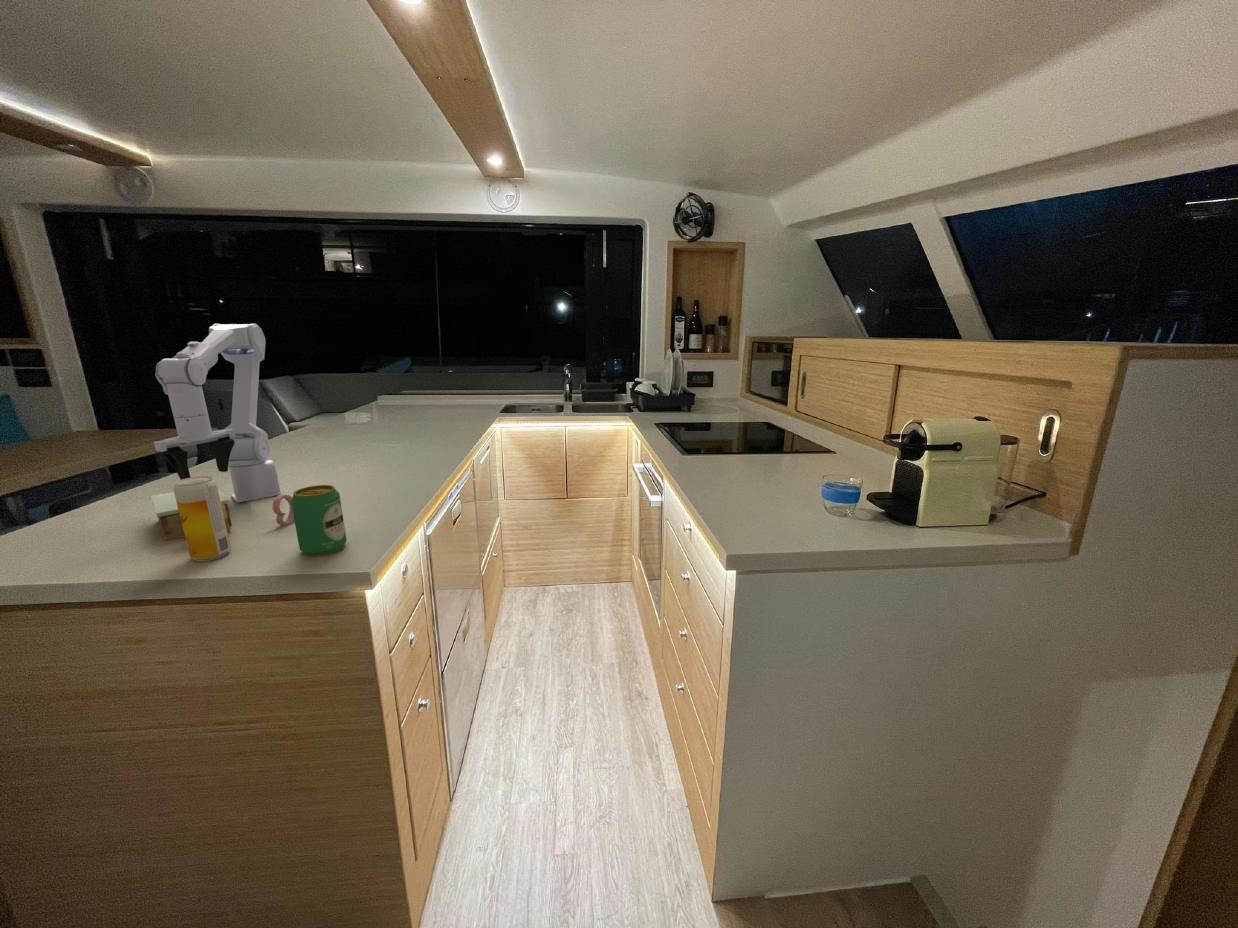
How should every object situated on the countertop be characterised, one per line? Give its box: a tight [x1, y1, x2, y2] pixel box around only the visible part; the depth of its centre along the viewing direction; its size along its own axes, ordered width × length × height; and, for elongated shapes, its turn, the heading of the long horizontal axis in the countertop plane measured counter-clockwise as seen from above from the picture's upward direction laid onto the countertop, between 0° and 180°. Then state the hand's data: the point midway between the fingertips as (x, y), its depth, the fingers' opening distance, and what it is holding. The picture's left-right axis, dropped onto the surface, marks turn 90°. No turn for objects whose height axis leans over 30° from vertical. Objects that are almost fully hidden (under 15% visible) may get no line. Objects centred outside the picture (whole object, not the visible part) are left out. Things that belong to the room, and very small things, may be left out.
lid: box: [150, 485, 229, 518], centre depth 109 cm, size 12×16×4 cm
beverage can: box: [291, 484, 348, 558], centre depth 96 cm, size 8×8×12 cm
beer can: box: [173, 475, 232, 562], centre depth 93 cm, size 6×6×15 cm
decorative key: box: [272, 494, 294, 526], centre depth 117 cm, size 7×1×20 cm
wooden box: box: [157, 504, 233, 541], centre depth 111 cm, size 11×16×5 cm
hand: (205, 475), depth 111 cm, fingers open, 7 cm apart
